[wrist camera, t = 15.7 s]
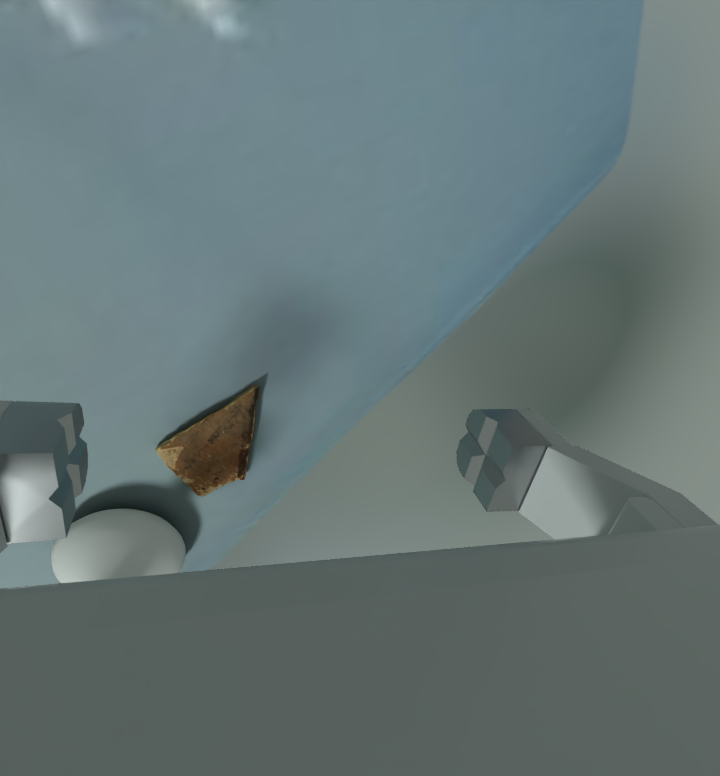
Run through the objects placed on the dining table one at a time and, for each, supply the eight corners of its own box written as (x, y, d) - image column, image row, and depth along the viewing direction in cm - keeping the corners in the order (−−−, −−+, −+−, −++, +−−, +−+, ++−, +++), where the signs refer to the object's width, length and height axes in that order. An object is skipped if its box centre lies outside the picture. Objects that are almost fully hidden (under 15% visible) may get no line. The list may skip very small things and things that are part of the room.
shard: (258, 378, 41) (259, 388, 40) (302, 436, 45) (305, 447, 44) (153, 440, 42) (150, 452, 40) (207, 492, 46) (206, 505, 44)
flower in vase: (211, 536, 48) (199, 865, 27) (130, 598, 49) (58, 956, 28) (101, 466, 41) (-31, 833, 20) (10, 540, 43) (-202, 955, 21)
